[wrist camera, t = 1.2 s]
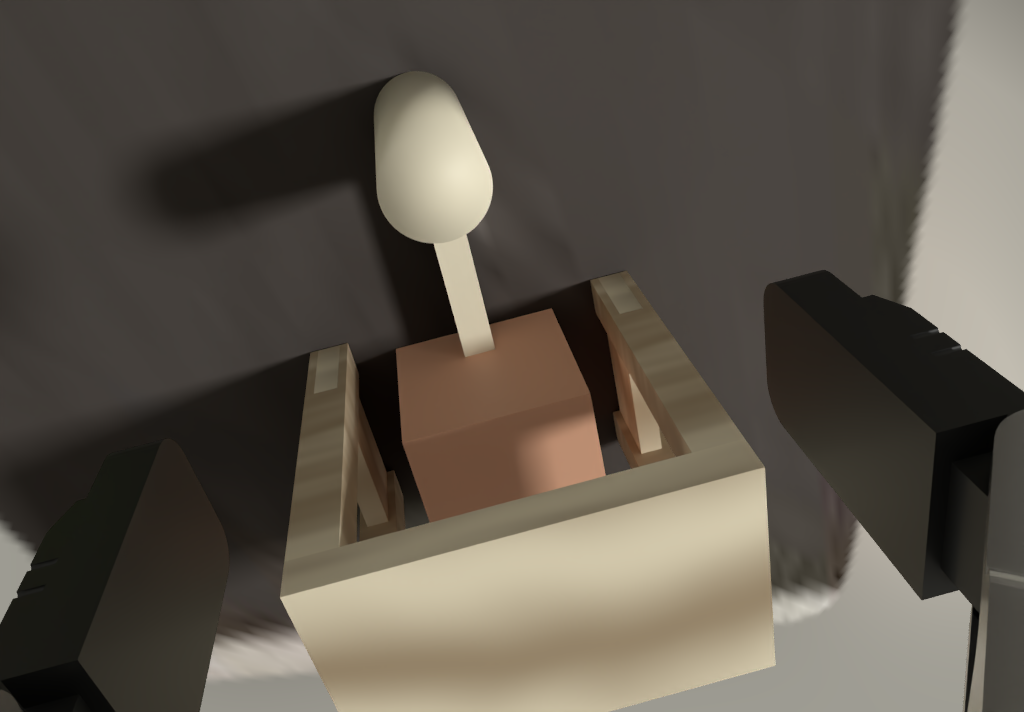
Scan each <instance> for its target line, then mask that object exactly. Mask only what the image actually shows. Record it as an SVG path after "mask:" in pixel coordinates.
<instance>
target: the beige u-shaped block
mask: <svg viewBox="0 0 1024 712" xmlns="http://www.w3.org/2000/svg"><path fill="white" fill-rule="evenodd" d="M590 283H591V289H592V294H593V300H594V306H595V312H596V314H597V316H598V318H599V320H600V322H601V323H602V325H603V327H604V329H605V331H606V332H607V336H608V342H609V348H610V354H611V360H612V366H613V372H614V378H615V384H616V390H617V396H618V402H619V408H620V410H619V411H616V412H613V417H614V422H615V428H616V434H617V439H618V441H619V444H620V446H621V448H622V450H623V452H624V454H625V456H626V459H627V461H628V463H629V465H630V467H631V469H629V470H625V471H622V472H618V473H614V474H610V475H607V476H603V477H599V478H596V479H592V480H588V481H584V482H581V483H577V484H573V485H569V486H566V487H562V488H558V489H554V490H551V491H547V492H543V493H539V494H536V495H532V496H528V497H524V498H521V499H517V500H513V501H510V502H506V503H502V504H498V505H495V506H491V507H487V508H483V509H480V510H476V511H472V512H468V513H465V514H461V515H457V516H453V517H450V518H446V519H442V520H439V521H435V522H431V523H427V524H424V525H420V526H416V527H412V528H409V529H405V516H404V500H403V494H402V491H401V488H400V486H399V483H398V480H397V477H396V475H395V472H394V470H393V471H389V472H386V469H385V466H384V464H383V461H382V458H381V455H380V453H379V450H378V447H377V445H376V442H375V439H374V436H373V434H372V431H371V428H370V426H369V423H368V420H367V417H366V415H365V412H364V409H363V407H362V404H361V401H360V399H359V373H358V370H357V367H356V364H355V362H354V359H353V356H352V353H351V351H350V348H349V345H348V343H346V344H342V345H338V346H334V347H330V348H327V349H323V350H319V351H315V352H311V353H310V360H309V368H308V376H307V384H306V392H305V400H304V408H303V416H302V424H301V433H300V441H299V449H298V457H297V465H296V473H295V481H294V489H293V497H292V505H291V513H290V521H289V529H288V537H287V545H286V553H285V561H284V569H283V577H282V585H281V593H280V599H281V601H282V603H283V605H284V606H285V608H286V610H287V612H288V614H289V616H290V618H291V620H292V622H293V624H294V626H295V628H296V630H297V632H298V634H299V636H300V638H301V640H302V642H303V644H304V646H305V647H306V649H307V651H308V653H309V655H310V657H311V659H312V661H313V663H314V665H315V667H316V669H317V671H318V673H319V675H320V677H321V679H322V681H323V683H324V685H325V687H326V688H327V690H328V692H329V694H330V696H331V698H332V700H333V702H334V704H335V706H336V708H337V710H338V712H610V711H613V710H617V709H621V708H624V707H628V706H631V705H635V704H639V703H642V702H646V701H649V700H653V699H657V698H660V697H664V696H667V695H671V694H675V693H678V692H682V691H686V690H689V689H693V688H696V687H699V686H704V685H707V684H711V683H714V682H718V681H721V680H725V679H728V678H732V677H736V676H739V675H743V674H747V673H750V672H754V671H758V670H761V669H765V668H768V667H772V666H775V649H774V630H773V611H772V593H771V574H770V555H769V537H768V518H767V499H766V481H765V467H764V465H763V464H762V463H761V461H760V460H759V458H758V457H757V455H756V454H755V453H754V451H753V450H752V448H751V447H750V445H749V444H748V443H747V441H746V440H745V438H744V437H743V436H742V434H741V433H740V431H739V430H738V428H737V427H736V426H735V424H734V423H733V421H732V420H731V418H730V417H729V416H728V414H727V413H726V411H725V410H724V409H723V407H722V406H721V404H720V403H719V401H718V400H717V399H716V397H715V396H714V394H713V393H712V391H711V390H710V389H709V387H708V386H707V384H706V383H705V382H704V380H703V379H702V377H701V376H700V374H699V373H698V372H697V370H696V369H695V367H694V366H693V365H692V363H691V362H690V360H689V359H688V357H687V356H686V355H685V353H684V352H683V350H682V349H681V347H680V346H679V345H678V343H677V342H676V340H675V339H674V338H673V336H672V335H671V333H670V332H669V330H668V329H667V328H666V326H665V325H664V323H663V322H662V320H661V319H660V318H659V316H658V315H657V313H656V312H655V311H654V309H653V308H652V306H651V305H650V303H649V302H648V301H647V299H646V298H645V296H644V295H643V293H642V292H641V291H640V289H639V288H638V286H637V285H636V284H635V282H634V281H633V279H632V278H631V276H630V275H629V274H628V272H627V271H624V272H620V273H616V274H612V275H608V276H604V277H600V278H597V279H593V280H590ZM660 429H661V430H660ZM661 431H662V432H661ZM662 433H663V434H662ZM664 436H665V437H664ZM665 438H666V439H665ZM666 440H667V441H666ZM667 442H668V443H667ZM669 445H670V446H669ZM670 447H671V448H670ZM671 449H672V450H671ZM672 451H673V452H672ZM674 454H675V455H674ZM675 456H676V457H675ZM357 502H358V505H359V507H360V542H357Z"/></svg>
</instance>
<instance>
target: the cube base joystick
mask: <svg viewBox="0 0 1024 712" xmlns="http://www.w3.org/2000/svg"><path fill="white" fill-rule="evenodd" d="M374 135H375V161H376V187H377V197H378V201H379V205H380V207H381V210H382V212H383V214H384V216H385V217H386V219H387V220H388V221H389V223H390V224H391V225H392V226H393V227H394V228H395V229H396V230H398V231H399V232H400V233H402V234H403V235H405V236H406V237H409V238H411V239H413V240H416V241H419V242H424V243H434V247H435V250H436V254H437V258H438V261H439V265H440V268H441V272H442V276H443V279H444V283H445V286H446V290H447V294H448V297H449V301H450V304H451V308H452V312H453V315H454V319H455V322H456V326H457V330H458V333H455V334H451V335H447V336H443V337H439V338H436V339H432V340H428V341H424V342H420V343H416V344H413V345H409V346H405V347H401V348H397V349H396V359H397V373H398V388H399V403H400V418H401V433H402V444H403V447H404V449H405V452H406V455H407V458H408V461H409V464H410V467H411V470H412V472H413V475H414V478H415V481H416V484H417V487H418V490H419V493H420V495H421V498H422V501H423V504H424V507H425V510H426V513H427V515H428V518H429V521H430V523H431V522H435V521H439V520H442V519H446V518H450V517H453V516H457V515H461V514H465V513H468V512H472V511H476V510H480V509H483V508H487V507H491V506H495V505H498V504H502V503H506V502H510V501H513V500H517V499H521V498H524V497H528V496H532V495H536V494H539V493H543V492H547V491H551V490H554V489H558V488H562V487H566V486H569V485H573V484H577V483H581V482H584V481H588V480H592V479H596V478H599V477H603V476H606V475H605V470H604V464H603V459H602V453H601V448H600V443H599V437H598V432H597V427H596V421H595V416H594V411H593V405H592V400H591V395H590V392H589V389H588V387H587V385H586V383H585V381H584V378H583V376H582V374H581V372H580V370H579V367H578V365H577V363H576V361H575V359H574V356H573V354H572V352H571V350H570V348H569V345H568V343H567V341H566V339H565V336H564V334H563V332H562V330H561V328H560V325H559V323H558V321H557V319H556V317H555V314H554V312H553V310H552V308H551V309H547V310H543V311H539V312H536V313H532V314H528V315H524V316H520V317H516V318H513V319H509V320H505V321H501V322H497V323H493V324H489V322H488V318H487V314H486V310H485V306H484V302H483V298H482V294H481V290H480V287H479V283H478V279H477V275H476V271H475V267H474V263H473V259H472V255H471V251H470V247H469V243H468V239H467V235H466V234H467V233H469V232H470V231H471V230H473V229H474V228H475V227H476V226H477V225H478V224H479V223H480V221H481V220H482V219H483V217H484V216H485V214H486V212H487V210H488V208H489V205H490V202H491V198H492V191H493V182H492V175H491V172H490V168H489V166H488V164H487V161H486V159H485V157H484V155H483V153H482V151H481V148H480V146H479V144H478V142H477V140H476V138H475V135H474V133H473V131H472V129H471V127H470V124H469V122H468V120H467V118H466V116H465V114H464V111H463V109H462V107H461V105H460V103H459V101H458V98H457V96H456V94H455V93H454V91H453V90H452V88H451V87H450V86H449V85H448V84H447V83H446V82H445V81H444V80H442V79H441V78H439V77H437V76H436V75H433V74H431V73H427V72H421V71H411V72H406V73H403V74H400V75H398V76H396V77H394V78H393V79H391V80H390V81H389V82H388V83H387V84H386V85H385V86H384V87H383V88H382V90H381V91H380V93H379V95H378V97H377V99H376V102H375V107H374Z"/></svg>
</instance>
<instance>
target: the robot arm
mask: <svg viewBox="0 0 1024 712" xmlns="http://www.w3.org/2000/svg"><path fill="white" fill-rule="evenodd" d="M764 324H765V345H766V366H767V384H768V390H769V395H770V398H771V402H772V405H773V408H774V410H775V412H776V415H777V417H778V419H779V420H780V422H781V424H782V425H783V427H784V428H785V429H786V430H787V432H788V433H789V434H790V435H791V437H792V438H793V439H794V440H795V442H796V443H797V444H798V445H799V447H800V448H801V449H802V450H803V452H804V453H805V454H806V456H807V457H808V458H809V459H810V461H811V462H812V463H813V464H814V466H815V467H816V468H817V469H818V471H819V472H820V473H821V474H822V476H823V477H824V478H825V479H826V481H827V482H828V483H829V484H830V486H831V487H832V488H833V489H834V491H835V492H836V493H837V494H838V496H839V497H840V498H841V499H842V501H843V502H844V503H845V505H846V506H847V507H848V508H849V510H850V511H851V512H852V513H853V515H854V516H855V517H856V518H857V520H858V521H859V522H860V523H861V525H862V526H863V527H864V528H865V530H866V531H867V532H868V533H869V535H870V536H871V537H872V538H873V540H874V541H875V542H876V543H877V545H878V546H879V547H880V549H881V550H882V551H883V552H884V553H885V555H886V556H887V557H888V559H889V560H890V561H891V562H892V564H893V565H894V566H895V567H896V568H897V570H898V571H899V572H900V573H901V574H902V576H903V577H904V579H905V580H906V581H907V582H908V584H909V585H910V586H911V587H912V588H913V590H914V591H915V593H916V594H917V595H918V596H919V597H920V599H921V600H924V599H928V598H932V597H935V596H939V595H943V594H946V593H950V592H953V591H957V590H960V591H961V593H962V594H963V595H964V596H965V597H966V598H967V600H969V602H970V603H971V604H972V609H971V616H970V623H969V636H968V649H967V661H966V675H965V687H964V700H963V712H1024V392H1023V391H1022V390H1021V389H1019V388H1018V387H1016V386H1015V385H1014V384H1012V383H1011V382H1010V381H1008V380H1007V379H1006V378H1004V377H1003V376H1002V375H1000V374H999V373H998V372H996V371H995V370H994V369H992V368H991V367H990V366H988V365H987V364H986V363H984V362H983V361H982V360H980V359H979V358H978V357H976V356H975V355H974V354H972V353H971V352H969V351H968V350H967V349H965V350H962V349H961V345H960V344H959V343H957V342H956V341H955V340H953V339H952V338H951V337H949V336H948V335H947V334H945V333H944V332H942V333H939V331H938V328H937V327H936V326H935V325H933V324H932V323H930V322H929V321H928V320H926V319H925V318H924V317H922V316H921V315H920V314H918V313H917V312H916V311H914V310H913V309H912V308H909V307H906V306H904V305H901V304H898V303H895V302H892V301H889V300H886V299H883V298H881V297H878V296H875V295H871V296H867V297H863V298H862V297H860V296H859V295H858V294H857V293H855V292H854V291H853V290H852V289H850V288H849V287H848V286H847V285H845V284H844V283H843V282H841V281H840V280H839V279H838V278H836V277H835V276H834V275H833V274H831V273H830V272H828V271H826V270H821V271H817V272H813V273H809V274H805V275H801V276H797V277H794V278H790V279H786V280H782V281H778V282H774V283H771V284H769V285H768V286H767V287H766V289H765V292H764ZM228 572H229V549H228V544H227V539H226V536H225V532H224V530H223V527H222V525H221V523H220V521H219V519H218V517H217V515H216V513H215V511H214V509H213V507H212V505H211V503H210V502H209V500H208V498H207V496H206V494H205V492H204V490H203V488H202V486H201V484H200V482H199V481H198V479H197V477H196V475H195V473H194V471H193V469H192V467H191V465H190V463H189V462H188V460H187V458H186V456H185V454H184V452H183V451H182V449H181V448H180V446H179V445H178V444H177V443H176V442H175V441H174V440H172V439H163V440H160V441H156V442H152V443H148V444H144V445H140V446H136V447H133V448H129V449H125V450H121V451H117V452H113V453H111V454H109V455H108V456H107V457H106V459H105V460H104V463H103V465H102V467H101V469H100V471H99V473H98V475H97V477H96V480H95V482H94V484H93V486H92V488H91V490H90V492H89V494H88V496H87V499H83V500H79V501H77V502H76V503H75V504H74V505H73V506H72V507H71V508H70V509H69V510H68V511H67V512H66V513H65V514H64V515H63V516H62V517H61V518H60V519H59V520H58V522H57V523H56V524H55V525H54V526H53V527H52V528H51V529H50V530H49V531H48V532H47V533H46V535H45V537H44V539H43V541H42V543H41V545H40V547H39V549H38V551H37V553H36V555H35V557H34V559H33V561H32V563H31V571H28V572H27V573H26V575H25V577H24V578H23V581H22V582H21V585H20V586H19V589H18V590H17V594H18V598H15V599H13V600H12V602H11V604H10V606H9V608H8V610H7V612H6V614H5V616H4V618H3V620H2V622H1V624H0V712H199V711H200V707H201V702H202V697H203V692H204V688H205V683H206V678H207V673H208V669H209V664H210V659H211V654H212V649H213V645H214V640H215V635H216V630H217V625H218V621H219V616H220V611H221V606H222V601H223V597H224V592H225V587H226V582H227V577H228Z"/></svg>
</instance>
